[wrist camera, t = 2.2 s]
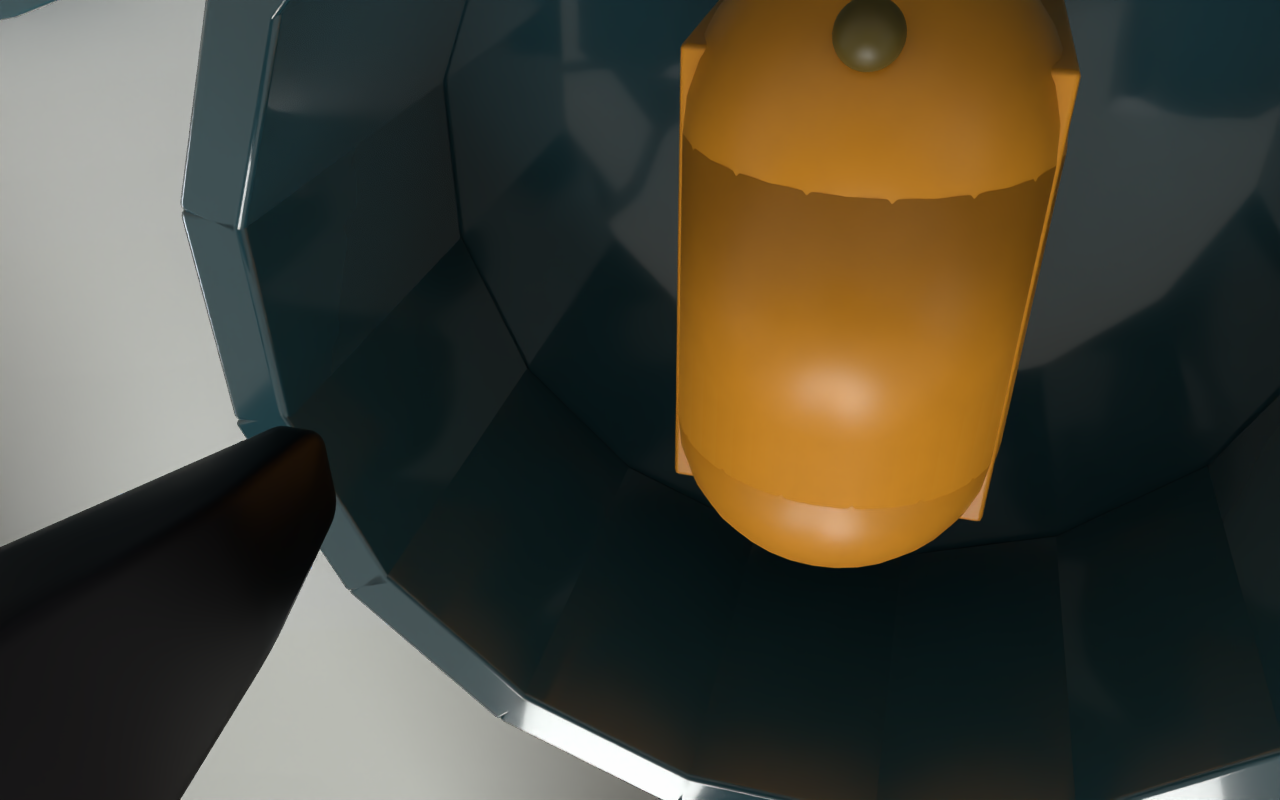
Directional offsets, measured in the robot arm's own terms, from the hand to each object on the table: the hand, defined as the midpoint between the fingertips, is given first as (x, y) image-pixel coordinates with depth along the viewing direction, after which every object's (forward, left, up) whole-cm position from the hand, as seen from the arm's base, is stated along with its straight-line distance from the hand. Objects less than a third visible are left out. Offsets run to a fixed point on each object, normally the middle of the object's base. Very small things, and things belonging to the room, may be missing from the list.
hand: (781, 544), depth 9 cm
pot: (0, 0, -8) cm, 8 cm away
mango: (0, 0, -8) cm, 8 cm away
